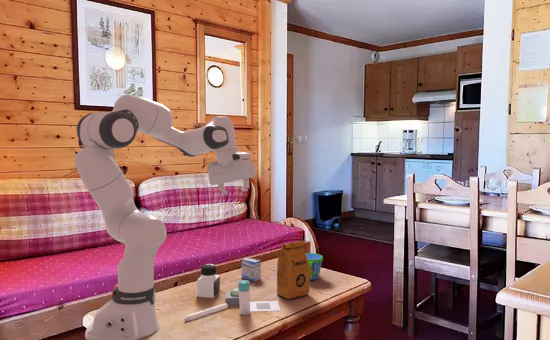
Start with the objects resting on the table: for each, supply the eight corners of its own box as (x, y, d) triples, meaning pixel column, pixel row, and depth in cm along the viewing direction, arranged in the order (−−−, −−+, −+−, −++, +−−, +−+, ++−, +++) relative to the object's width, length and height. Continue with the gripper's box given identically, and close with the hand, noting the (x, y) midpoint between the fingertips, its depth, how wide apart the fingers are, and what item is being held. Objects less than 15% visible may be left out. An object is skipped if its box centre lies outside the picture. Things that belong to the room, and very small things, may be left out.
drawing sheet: (247, 311, 153) (247, 311, 153) (246, 302, 162) (246, 301, 162) (280, 311, 154) (280, 310, 154) (277, 301, 163) (277, 300, 163)
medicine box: (241, 278, 189) (241, 259, 189) (247, 275, 193) (247, 257, 192) (255, 281, 185) (255, 262, 184) (261, 279, 188) (261, 260, 188)
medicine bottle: (214, 298, 165) (214, 268, 164) (196, 297, 166) (196, 267, 165) (220, 292, 172) (220, 263, 171) (203, 290, 173) (203, 262, 172)
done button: (231, 299, 160) (231, 291, 160) (231, 295, 164) (231, 288, 164) (241, 298, 161) (241, 291, 160) (240, 295, 164) (240, 288, 164)
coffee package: (312, 296, 169) (314, 242, 167) (287, 302, 162) (288, 246, 160) (298, 288, 177) (299, 237, 175) (273, 294, 171) (274, 240, 169)
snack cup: (318, 285, 182) (319, 262, 181) (295, 282, 185) (295, 259, 184) (325, 274, 197) (325, 252, 196) (303, 271, 200) (303, 250, 199)
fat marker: (239, 315, 150) (238, 284, 148) (239, 310, 153) (238, 280, 152) (250, 315, 150) (249, 284, 148) (250, 309, 154) (249, 279, 152)
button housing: (225, 305, 158) (225, 298, 158) (226, 297, 166) (226, 290, 166) (247, 305, 159) (247, 297, 159) (246, 297, 167) (246, 289, 166)
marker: (185, 323, 143) (185, 317, 143) (182, 321, 145) (182, 315, 145) (227, 309, 156) (228, 303, 155) (224, 307, 157) (224, 301, 157)
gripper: (202, 163, 165) (208, 197, 165) (245, 153, 155) (252, 190, 155) (212, 162, 170) (218, 195, 170) (254, 152, 161) (260, 188, 161)
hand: (234, 193), depth 163 cm, fingers open, 8 cm apart
